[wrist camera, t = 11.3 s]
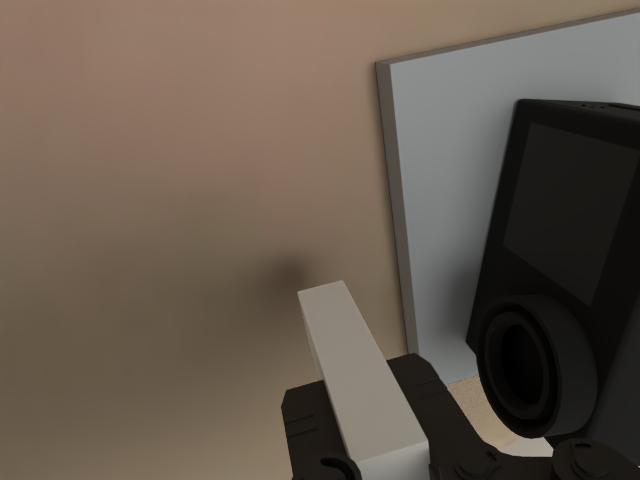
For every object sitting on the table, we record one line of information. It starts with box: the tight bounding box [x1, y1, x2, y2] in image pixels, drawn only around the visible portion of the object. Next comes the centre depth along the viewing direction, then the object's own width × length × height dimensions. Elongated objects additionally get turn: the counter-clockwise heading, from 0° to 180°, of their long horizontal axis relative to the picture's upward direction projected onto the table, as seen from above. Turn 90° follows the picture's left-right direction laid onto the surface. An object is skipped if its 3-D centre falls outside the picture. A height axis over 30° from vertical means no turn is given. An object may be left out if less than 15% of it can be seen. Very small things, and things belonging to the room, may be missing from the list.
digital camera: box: [465, 99, 640, 466], centre depth 15 cm, size 10×5×7 cm, turn 177°
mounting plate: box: [375, 8, 640, 385], centre depth 20 cm, size 18×14×2 cm
